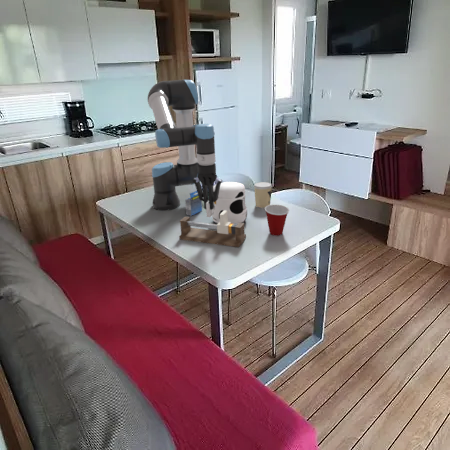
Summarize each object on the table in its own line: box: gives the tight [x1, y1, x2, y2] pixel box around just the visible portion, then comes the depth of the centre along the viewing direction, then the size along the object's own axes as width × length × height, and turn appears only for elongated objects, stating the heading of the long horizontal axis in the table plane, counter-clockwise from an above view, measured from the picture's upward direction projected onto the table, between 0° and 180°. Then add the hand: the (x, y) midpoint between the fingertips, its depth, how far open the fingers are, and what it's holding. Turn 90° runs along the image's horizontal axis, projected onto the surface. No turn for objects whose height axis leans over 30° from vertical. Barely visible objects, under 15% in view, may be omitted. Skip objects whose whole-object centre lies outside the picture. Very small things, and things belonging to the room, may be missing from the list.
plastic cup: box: [264, 204, 290, 237], centre depth 162 cm, size 11×11×12 cm
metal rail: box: [187, 220, 237, 234], centre depth 160 cm, size 26×4×4 cm, turn 69°
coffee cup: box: [253, 181, 273, 209], centre depth 194 cm, size 9×9×12 cm
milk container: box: [211, 181, 248, 224], centre depth 175 cm, size 17×17×18 cm
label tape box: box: [185, 190, 203, 217], centre depth 189 cm, size 9×4×12 cm, turn 144°
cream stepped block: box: [216, 210, 231, 234], centre depth 157 cm, size 5×5×9 cm
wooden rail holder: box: [178, 216, 247, 248], centre depth 160 cm, size 28×10×8 cm, turn 69°
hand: (209, 215), depth 159 cm, fingers closed
